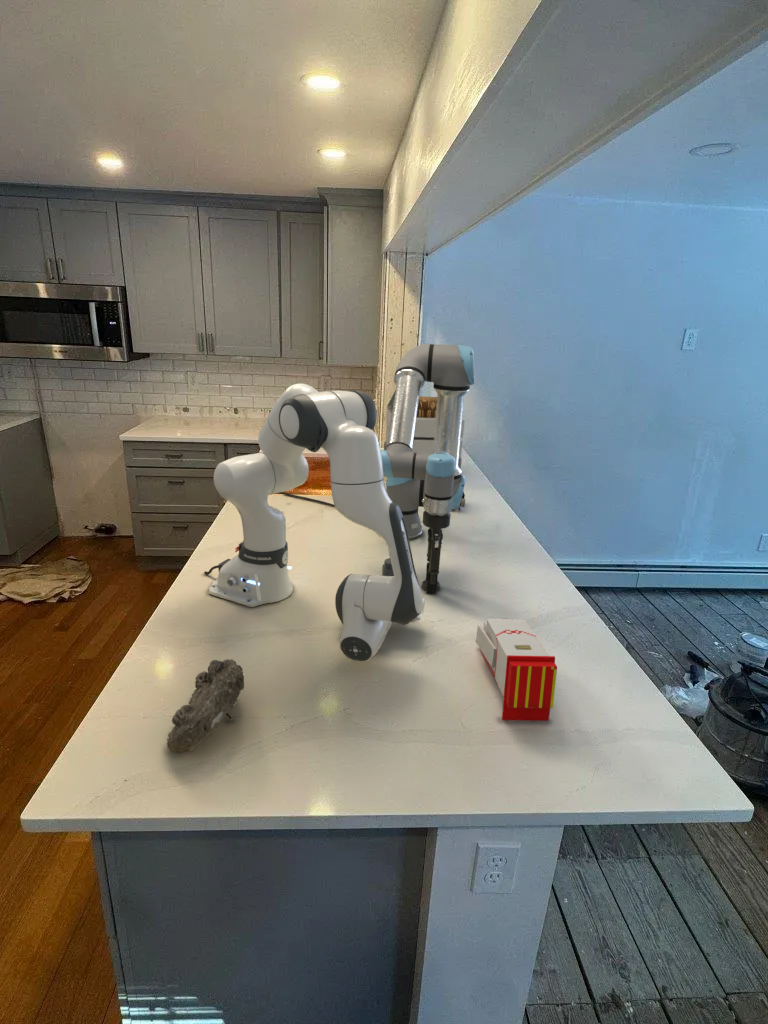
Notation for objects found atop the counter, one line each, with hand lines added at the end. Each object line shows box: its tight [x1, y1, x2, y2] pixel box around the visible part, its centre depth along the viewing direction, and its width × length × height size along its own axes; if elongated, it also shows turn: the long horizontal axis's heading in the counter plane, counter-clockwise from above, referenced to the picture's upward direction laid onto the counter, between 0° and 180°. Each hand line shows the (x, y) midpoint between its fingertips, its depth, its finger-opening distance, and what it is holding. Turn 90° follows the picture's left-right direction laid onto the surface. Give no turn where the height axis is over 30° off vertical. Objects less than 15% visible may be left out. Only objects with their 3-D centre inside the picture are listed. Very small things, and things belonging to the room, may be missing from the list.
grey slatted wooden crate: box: [383, 389, 465, 470], centre depth 268 cm, size 34×33×41 cm
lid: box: [421, 579, 441, 593], centre depth 162 cm, size 5×5×2 cm
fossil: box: [166, 658, 245, 754], centre depth 106 cm, size 22×10×15 cm
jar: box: [381, 557, 394, 576], centre depth 145 cm, size 4×4×15 cm
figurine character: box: [451, 490, 466, 511], centre depth 229 cm, size 7×8×15 cm
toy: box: [475, 618, 558, 722], centre depth 122 cm, size 12×13×30 cm
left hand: (390, 588), depth 147 cm, fingers closed on jar, 4 cm apart
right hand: (430, 588), depth 162 cm, fingers closed on lid, 5 cm apart
